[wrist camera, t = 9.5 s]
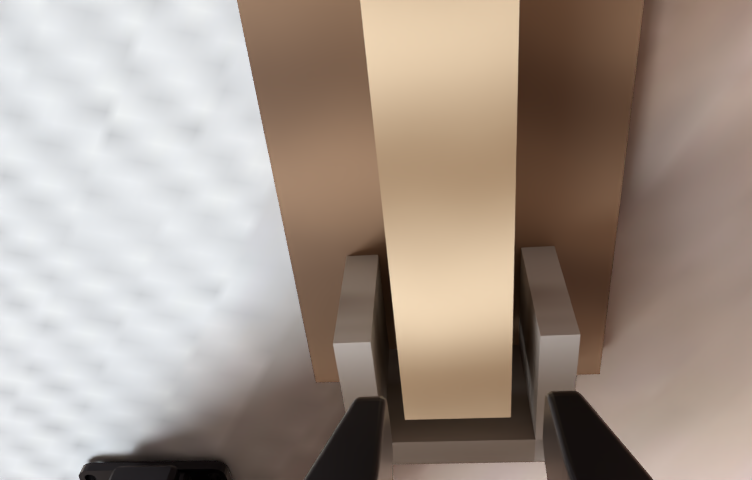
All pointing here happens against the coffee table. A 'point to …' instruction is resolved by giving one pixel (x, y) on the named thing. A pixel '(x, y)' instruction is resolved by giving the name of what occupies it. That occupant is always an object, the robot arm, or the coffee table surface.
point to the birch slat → (448, 195)
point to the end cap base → (532, 205)
